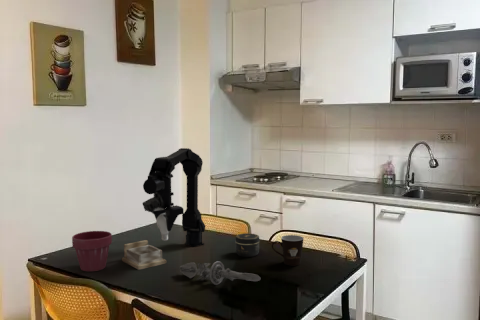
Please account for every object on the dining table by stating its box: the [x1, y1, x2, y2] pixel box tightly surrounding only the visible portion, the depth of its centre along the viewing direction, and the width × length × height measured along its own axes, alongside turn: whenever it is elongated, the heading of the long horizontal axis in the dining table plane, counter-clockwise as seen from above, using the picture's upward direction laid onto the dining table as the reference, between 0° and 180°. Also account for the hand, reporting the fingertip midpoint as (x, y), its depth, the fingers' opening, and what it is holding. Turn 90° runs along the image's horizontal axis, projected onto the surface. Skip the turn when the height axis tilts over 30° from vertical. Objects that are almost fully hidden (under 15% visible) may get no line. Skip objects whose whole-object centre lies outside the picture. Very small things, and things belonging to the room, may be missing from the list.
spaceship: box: [179, 260, 261, 286], centre depth 157 cm, size 8×35×8 cm
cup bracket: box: [121, 239, 167, 271], centre depth 181 cm, size 12×14×6 cm
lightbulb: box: [155, 213, 170, 242], centre depth 179 cm, size 6×6×11 cm
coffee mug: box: [271, 234, 304, 267], centre depth 179 cm, size 12×9×10 cm
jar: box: [234, 232, 260, 258], centre depth 191 cm, size 10×10×8 cm
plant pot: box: [71, 230, 113, 272], centre depth 174 cm, size 14×14×13 cm
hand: (164, 229), depth 179 cm, fingers closed on lightbulb, 6 cm apart
